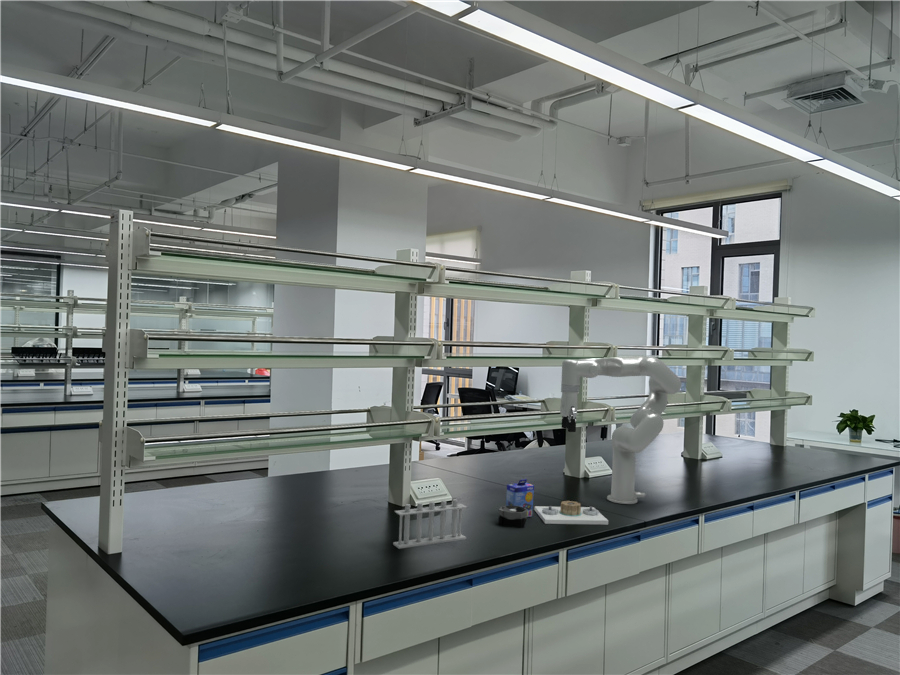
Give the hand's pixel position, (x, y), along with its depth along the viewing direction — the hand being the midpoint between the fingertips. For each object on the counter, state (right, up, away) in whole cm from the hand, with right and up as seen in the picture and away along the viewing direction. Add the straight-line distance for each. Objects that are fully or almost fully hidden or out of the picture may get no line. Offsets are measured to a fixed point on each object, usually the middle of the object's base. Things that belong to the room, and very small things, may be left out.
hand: (568, 429), depth 272 cm
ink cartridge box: (-23, -30, -24) cm, 45 cm away
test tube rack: (-56, -29, -58) cm, 86 cm away
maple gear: (-3, -29, -22) cm, 36 cm away
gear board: (-3, -30, -22) cm, 38 cm away
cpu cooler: (-27, -30, -33) cm, 52 cm away
